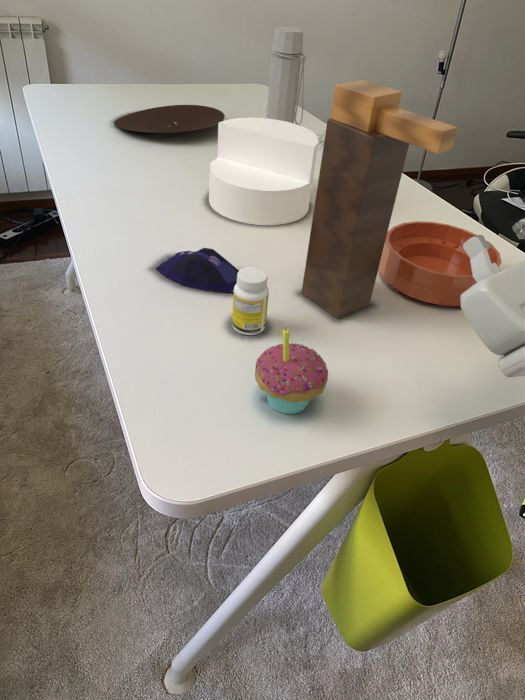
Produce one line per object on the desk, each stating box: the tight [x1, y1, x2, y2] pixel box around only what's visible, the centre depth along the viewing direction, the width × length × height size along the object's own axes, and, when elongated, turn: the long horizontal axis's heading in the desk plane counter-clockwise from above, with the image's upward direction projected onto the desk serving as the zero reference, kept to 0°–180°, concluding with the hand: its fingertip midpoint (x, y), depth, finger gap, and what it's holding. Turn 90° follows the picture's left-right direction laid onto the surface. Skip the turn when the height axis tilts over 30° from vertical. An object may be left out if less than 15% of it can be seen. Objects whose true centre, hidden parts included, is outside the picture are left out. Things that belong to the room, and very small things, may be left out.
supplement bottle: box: [231, 266, 270, 336], centre depth 75 cm, size 5×5×8 cm
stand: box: [301, 117, 410, 320], centre depth 76 cm, size 8×7×26 cm
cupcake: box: [254, 324, 329, 415], centre depth 63 cm, size 9×8×12 cm
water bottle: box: [265, 26, 307, 126], centre depth 132 cm, size 9×8×25 cm
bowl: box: [378, 220, 502, 307], centre depth 90 cm, size 18×18×6 cm
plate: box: [113, 104, 226, 135], centre depth 140 cm, size 28×28×4 cm
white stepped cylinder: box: [208, 117, 319, 226], centre depth 106 cm, size 20×20×13 cm
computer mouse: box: [155, 247, 240, 294], centre depth 86 cm, size 9×15×4 cm, turn 65°
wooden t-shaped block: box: [330, 79, 459, 155], centre depth 65 cm, size 15×6×4 cm, turn 43°
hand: (496, 229), depth 60 cm, fingers open, 8 cm apart
